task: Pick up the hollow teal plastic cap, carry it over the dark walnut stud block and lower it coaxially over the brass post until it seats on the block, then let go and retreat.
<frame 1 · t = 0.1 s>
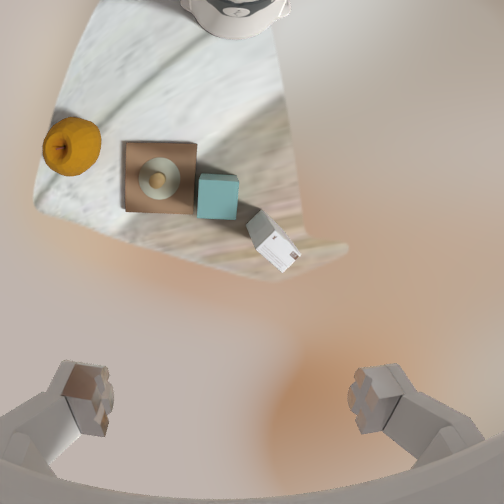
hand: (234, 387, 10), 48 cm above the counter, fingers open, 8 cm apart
apple: (86, 143, 49), on the counter
cap: (217, 191, 55), on the counter
stud block: (160, 177, 53), on the counter
skincare box: (265, 227, 58), on the counter
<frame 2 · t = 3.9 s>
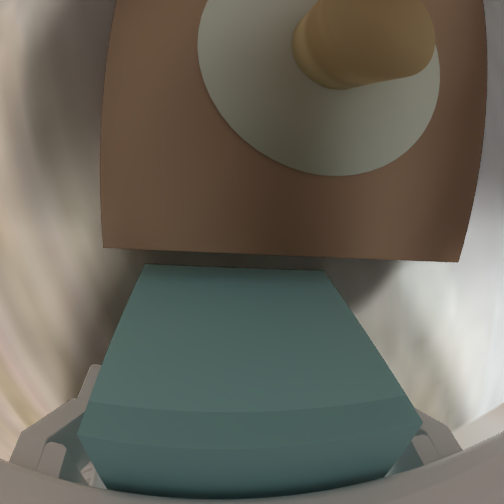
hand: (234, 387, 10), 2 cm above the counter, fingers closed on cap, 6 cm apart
cap: (230, 341, 12), on the counter, touching gripper
stud block: (320, 57, 8), on the counter
skincare box: (118, 452, 14), on the counter
when the fingers open (4 cm above the counter, at t = 9.1 s): cap stays where it is, resting on stud block.
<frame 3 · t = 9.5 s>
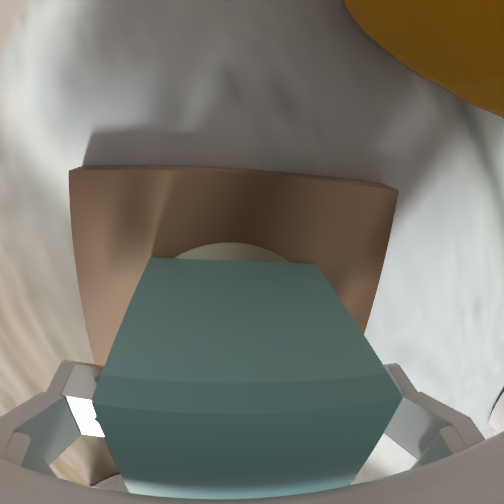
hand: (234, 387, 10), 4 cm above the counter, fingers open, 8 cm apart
apple: (395, 9, 10), on the counter
cap: (229, 330, 13), point 1 cm above the counter, touching stud block
stud block: (227, 312, 14), on the counter
skincare box: (124, 488, 20), on the counter
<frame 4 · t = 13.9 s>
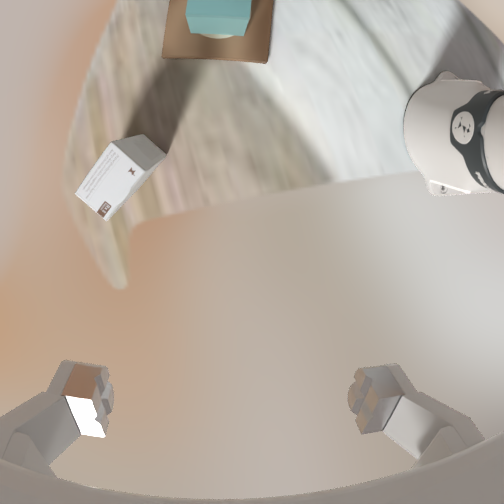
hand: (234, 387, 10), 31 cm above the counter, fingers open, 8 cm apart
cap: (219, 12, 29), point 1 cm above the counter, touching stud block
stud block: (219, 15, 30), on the counter
skincare box: (139, 163, 36), on the counter
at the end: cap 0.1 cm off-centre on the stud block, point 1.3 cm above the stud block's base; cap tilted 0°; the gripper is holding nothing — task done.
